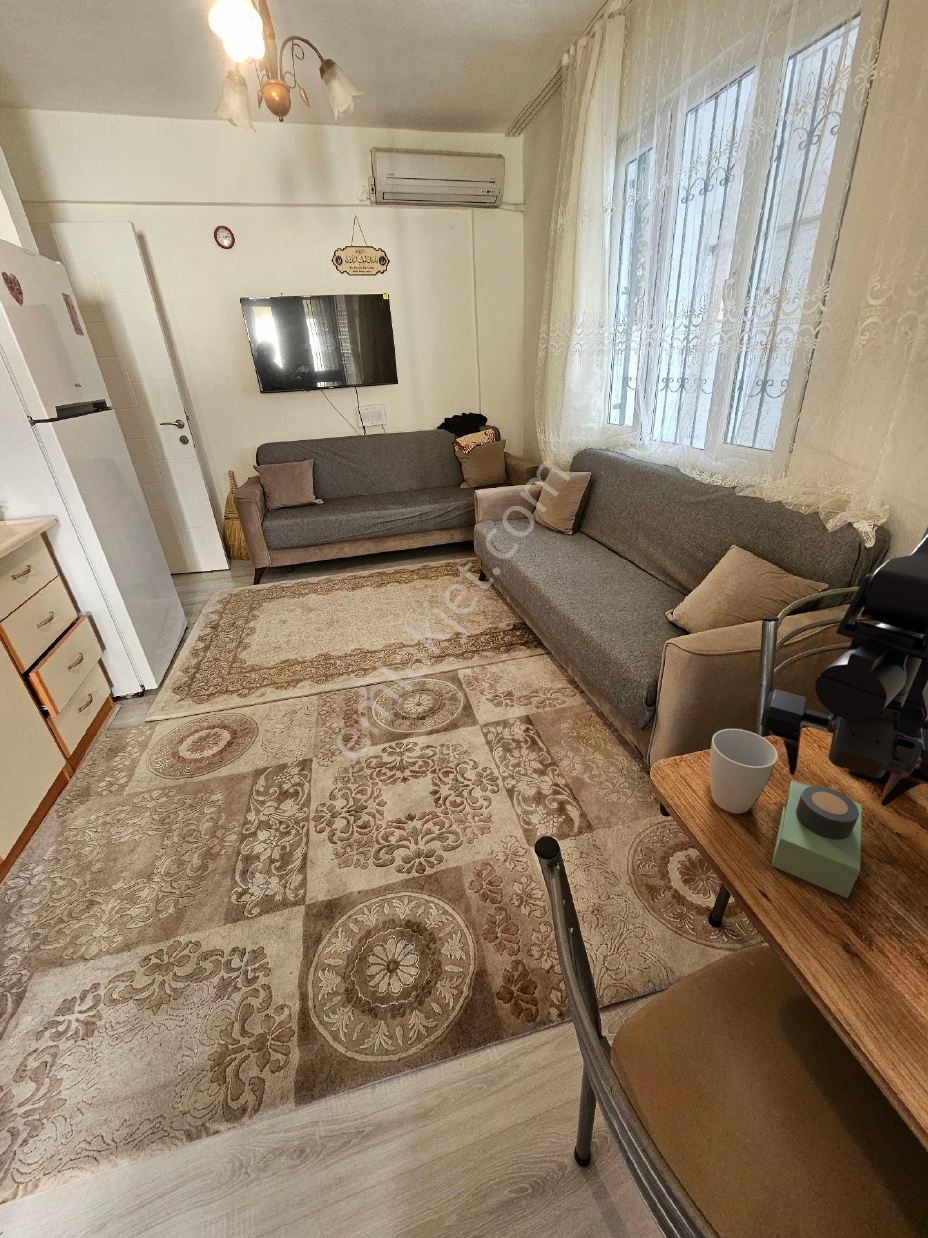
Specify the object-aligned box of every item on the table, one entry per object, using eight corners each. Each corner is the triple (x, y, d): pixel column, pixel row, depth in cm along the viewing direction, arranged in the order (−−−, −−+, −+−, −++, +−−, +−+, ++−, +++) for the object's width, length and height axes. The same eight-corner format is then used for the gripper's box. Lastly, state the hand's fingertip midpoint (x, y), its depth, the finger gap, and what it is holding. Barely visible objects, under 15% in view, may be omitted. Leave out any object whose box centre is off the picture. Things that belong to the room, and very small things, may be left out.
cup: (769, 825, 70) (786, 770, 66) (707, 817, 72) (719, 763, 67) (752, 783, 77) (766, 731, 73) (695, 777, 79) (706, 726, 75)
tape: (798, 796, 68) (804, 778, 67) (852, 815, 65) (859, 797, 64) (793, 825, 64) (799, 808, 63) (850, 848, 61) (858, 829, 59)
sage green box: (783, 806, 73) (791, 780, 71) (850, 831, 69) (862, 804, 67) (771, 866, 65) (780, 838, 62) (847, 899, 60) (860, 870, 58)
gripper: (768, 689, 55) (739, 796, 61) (1008, 753, 44) (942, 873, 51) (781, 647, 63) (754, 746, 69) (987, 693, 52) (932, 804, 59)
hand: (835, 787), depth 62 cm, fingers open, 9 cm apart
